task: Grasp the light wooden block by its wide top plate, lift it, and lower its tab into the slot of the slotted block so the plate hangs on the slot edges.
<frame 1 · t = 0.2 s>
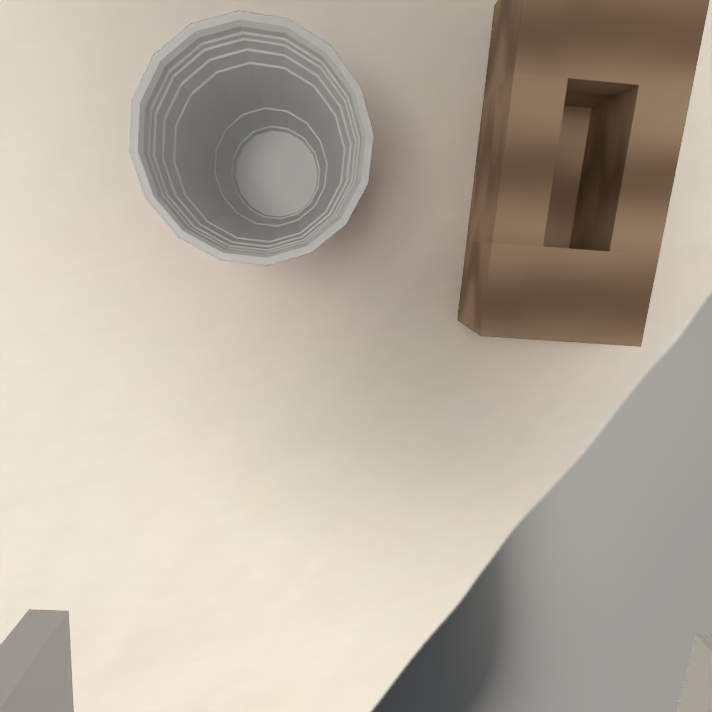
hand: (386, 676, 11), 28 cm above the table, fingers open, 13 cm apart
slotted block: (547, 178, 36), on the table
plastic cup: (279, 172, 35), on the table
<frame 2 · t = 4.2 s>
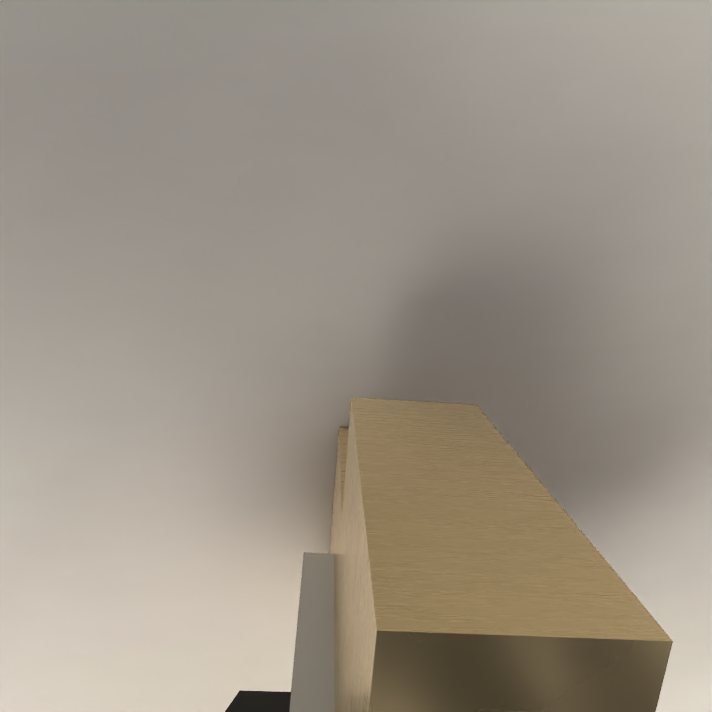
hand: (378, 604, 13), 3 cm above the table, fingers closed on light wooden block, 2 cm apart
light wooden block: (370, 537, 16), on the table, touching gripper
when the fingers open (7 cm above the table, at t = 9.9 s): light wooden block drops 3 cm, resting on slotted block.
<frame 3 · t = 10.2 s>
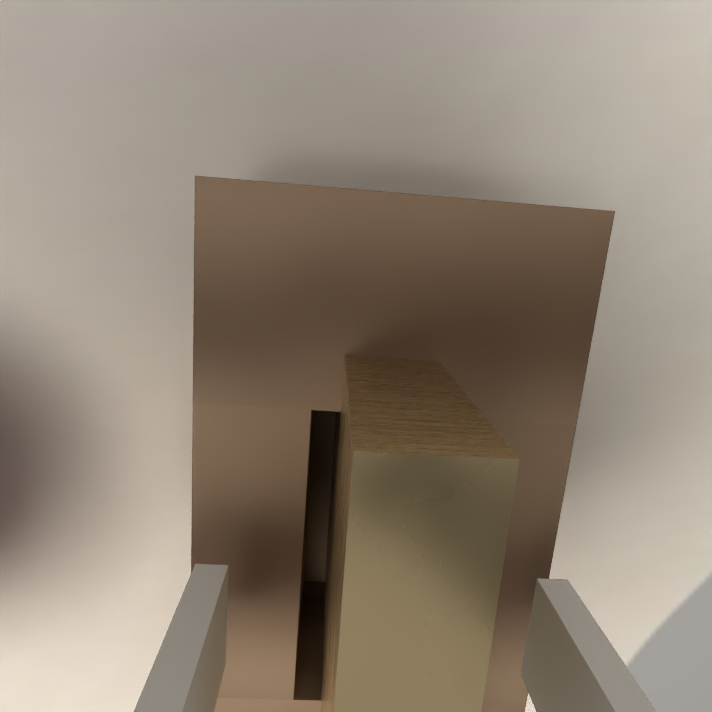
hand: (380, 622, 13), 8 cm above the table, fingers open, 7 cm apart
slotted block: (362, 472, 21), on the table
light wooden block: (363, 484, 20), point 1 cm above the table, touching slotted block
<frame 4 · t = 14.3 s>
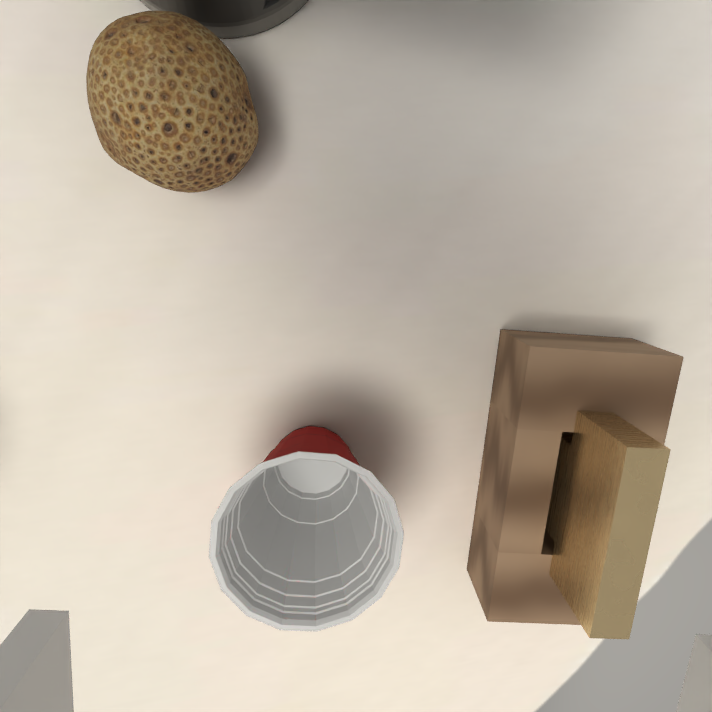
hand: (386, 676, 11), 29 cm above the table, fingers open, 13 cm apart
slotted block: (545, 459, 42), on the table
natural sponge: (200, 128, 35), on the table
light wooden block: (550, 464, 41), point 1 cm above the table, touching slotted block
plastic cup: (314, 457, 41), on the table
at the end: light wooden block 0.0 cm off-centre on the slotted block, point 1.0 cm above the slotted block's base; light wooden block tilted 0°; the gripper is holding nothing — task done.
